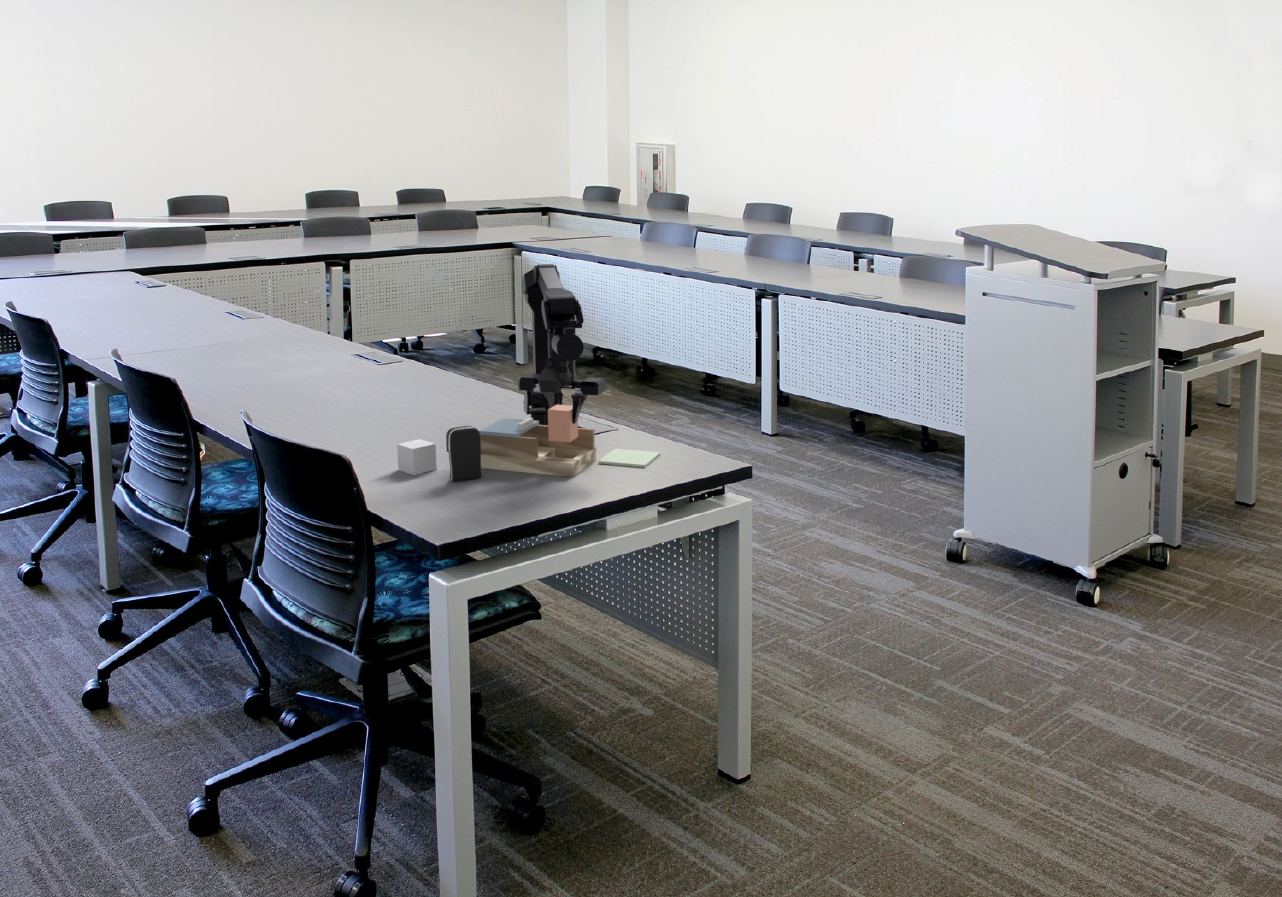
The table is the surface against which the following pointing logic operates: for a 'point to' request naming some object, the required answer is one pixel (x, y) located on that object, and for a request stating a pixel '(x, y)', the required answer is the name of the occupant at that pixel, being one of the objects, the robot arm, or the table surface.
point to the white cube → (416, 456)
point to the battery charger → (464, 453)
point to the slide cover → (509, 427)
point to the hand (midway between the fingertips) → (563, 422)
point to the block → (561, 424)
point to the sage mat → (629, 458)
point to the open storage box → (538, 452)
